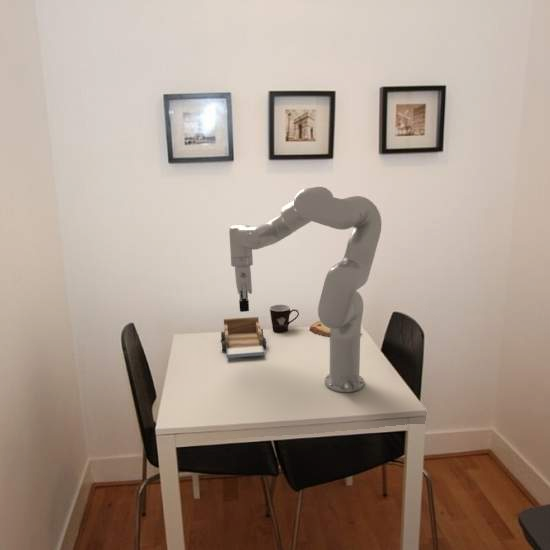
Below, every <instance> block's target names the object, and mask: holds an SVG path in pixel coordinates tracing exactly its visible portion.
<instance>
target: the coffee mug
mask: <svg viewBox="0 0 550 550" xmlns="http://www.w3.org/2000/svg"><path fill="white" fill-rule="evenodd" d="M269 312H270V319H271V327H272V332H274V333H276V334H284V333H287V332H288V331H289V325H290V324H291V323H292V322H294V321H295V320H296V319H298V317H299V315H300V314H299V310H298V309H292V310H291V306H290V305H288V304H287V305H286V304H274V305H271V306H270V307H269ZM292 312H296V313H297V315H296V316H295V317H294V318H293V319H291V320H290V316H291V314H292Z"/></svg>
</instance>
